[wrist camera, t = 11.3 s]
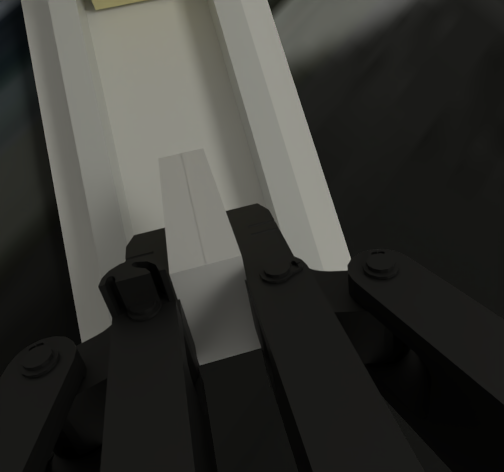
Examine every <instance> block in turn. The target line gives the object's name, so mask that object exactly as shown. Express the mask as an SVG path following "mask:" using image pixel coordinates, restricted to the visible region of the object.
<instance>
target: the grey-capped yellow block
mask: <svg viewBox="0 0 504 472" xmlns="http://www.w3.org/2000/svg"><path fill="white" fill-rule="evenodd" d="M140 1H145V0H92V3H93V5H94V8H95V10H99V9H104V8H110V7H115V6H120V5H125V4H130V3H135V2H140Z"/></svg>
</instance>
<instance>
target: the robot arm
mask: <svg viewBox="0 0 504 472" xmlns="http://www.w3.org/2000/svg"><path fill="white" fill-rule="evenodd" d="M158 161H159V171H160V182H161V192H162V203H163V213H164V223H165V228H161V229H157V230H153V231H149V232H145V233H141V234H137V235H134V236H133V237H132V239H131V240H130V242H129V243H128V245H127V246H126V254H125V259H126V261H125V262H124V263H121V264H119V265H117V266H116V267H114V268H113V269H111V270H109V271H108V272H107V273H106V274H105V275H104V276H103V277H102V279H101V281H100V283H99V286H98V288H99V290H100V292H101V294H102V297H103V299H104V301H105V303H106V305H107V308H108V310H109V312H110V314H111V316H112V325H110V326H109V327H108V328H107V329H106V330H104V331H103V332H101V333H100V334H98V335H96V336H94V337H93V338H91V339H89V340H87V341H85V342H83V343H81V344H79V345H77V346H76V345H75V343H74V342H73V341H72V340H70V339H69V338H67V337H61V336H53V337H49V338H45V339H41V340H39V341H37V342H35V343H33V344H31V345H29V346H27V347H26V348H25V349H24V350H22V351H21V352H20V353H18V354H17V355H16V356H15V357H14V359H13V360H12V361H11V362H10V363H9V365H8V366H7V368H6V369H5V371H4V372H3V374H2V376H1V377H0V472H217V465H216V459H215V453H214V446H213V440H212V434H211V427H210V421H209V415H208V408H207V402H206V396H205V389H204V383H203V380H202V377H201V374H200V371H199V368H198V362H199V365H203V364H206V363H210V362H213V361H217V360H220V359H224V358H227V357H231V356H234V355H238V354H241V353H245V352H248V351H252V350H256V349H259V348H262V352H263V357H264V361H265V366H266V371H267V376H268V380H269V385H270V387H272V388H273V391H274V395H275V398H276V401H277V404H278V407H279V410H280V414H281V417H282V420H283V423H284V426H285V429H286V433H287V436H288V439H289V442H290V445H291V448H292V452H293V455H294V458H295V461H296V464H297V468H298V471H299V472H425V471H424V470H423V468H422V466H421V464H420V463H419V461H418V459H417V457H416V456H415V454H414V452H413V450H412V449H411V447H410V445H409V443H408V442H407V440H406V438H405V436H404V434H403V433H402V431H401V429H400V427H399V426H398V424H397V422H396V420H395V419H394V417H393V415H392V413H391V412H390V410H389V408H388V406H387V405H386V403H385V401H384V399H385V400H386V401H387V402H388V403H389V404H390V405H391V406H392V407H393V408H394V409H395V410H396V411H397V413H398V414H399V415H400V416H401V417H402V418H403V419H404V420H405V421H406V422H407V423H408V424H409V425H410V427H411V428H412V429H413V430H414V431H415V432H416V433H417V434H418V435H419V436H420V437H421V438H422V439H423V440H424V442H425V443H426V444H427V445H428V446H429V447H430V448H431V449H432V450H433V451H434V452H435V453H436V454H437V456H438V457H439V458H440V459H441V460H442V461H443V462H444V463H445V464H446V465H447V466H448V467H449V468H450V469H451V471H452V472H504V319H502V318H501V317H499V316H498V315H496V314H495V313H493V312H492V311H490V310H489V309H487V308H485V307H484V306H482V305H481V304H479V303H478V302H476V301H475V300H473V299H472V298H470V297H469V296H467V295H466V294H464V293H462V292H461V291H459V290H458V289H456V288H455V287H453V286H452V285H450V284H449V283H447V282H446V281H444V280H443V279H441V278H440V277H438V276H436V275H435V274H433V273H432V272H430V271H429V270H427V269H426V268H424V267H423V266H421V265H420V264H418V263H417V262H415V261H413V260H412V259H410V258H409V257H407V256H406V255H403V254H401V253H399V252H397V251H393V250H387V249H372V250H368V251H364V252H361V253H359V254H357V255H356V256H354V257H353V258H352V259H351V260H350V262H349V264H348V265H347V267H348V270H347V271H319V270H313V269H310V268H309V267H308V265H307V264H306V263H305V262H304V261H303V260H302V259H299V258H297V257H295V256H294V255H293V253H292V251H291V249H290V248H289V246H288V244H287V242H286V240H285V238H284V237H283V235H282V233H281V231H280V229H279V228H278V226H277V224H276V222H275V221H274V218H273V216H272V215H271V213H270V211H269V209H267V208H265V207H263V206H261V205H260V204H258V203H256V204H252V205H248V206H244V207H240V208H236V209H232V210H228V211H225V208H224V205H223V202H222V200H221V197H220V194H219V191H218V188H217V186H216V183H215V180H214V177H213V175H212V172H211V169H210V166H209V163H208V161H207V158H206V155H205V152H204V149H203V148H201V149H197V150H192V151H188V152H184V153H180V154H175V155H171V156H167V157H162V158H158ZM197 359H198V361H197ZM381 395H382V396H383V397H384V399H383V397H382V396H381Z"/></svg>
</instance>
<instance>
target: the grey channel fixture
mask: <svg viewBox="0 0 504 472" xmlns="http://www.w3.org/2000/svg"><path fill="white" fill-rule="evenodd" d="M21 4H22V9H23V15H24V20H25V26H26V32H27V37H28V43H29V49H30V54H31V60H32V66H33V71H34V77H35V82H36V88H37V94H38V99H39V105H40V111H41V116H42V122H43V128H44V133H45V139H46V144H47V150H48V156H49V161H50V167H51V173H52V178H53V184H54V190H55V195H56V201H57V206H58V212H59V218H60V223H61V229H62V235H63V240H64V246H65V252H66V257H67V263H68V268H69V274H70V280H71V285H72V291H73V297H74V302H75V308H76V314H77V319H78V325H79V330H80V336H81V342H82V343H83V342H85V341H87V340H89V339H91V338H93V337H94V336H96V335H98V334H100V333H101V332H103V331H104V330H106V329H107V328H108V327H109V326H110V325H112V316H111V314H110V312H109V310H108V308H107V305H106V303H105V301H104V299H103V297H102V294H101V292H100V290H99V288H98V286H99V283H100V281H101V279H102V277H103V276H104V275H105V274H106V273H107V272H108V271H109V270H111V269H113V268H114V267H116V266H117V265H119V264H121V263H124V262H125V261H126V259H125V254H126V246H127V245H128V243H129V242H130V240H131V239H132V237H133V236H134V235H137V234H141V233H145V232H149V231H153V230H157V229H161V228H165V223H164V213H163V203H162V192H161V182H160V171H159V161H158V158H162V157H167V156H171V155H175V154H180V153H184V152H188V151H192V150H197V149H201V148H203V149H204V152H205V155H206V158H207V161H208V163H209V166H210V169H211V172H212V175H213V177H214V180H215V183H216V186H217V188H218V191H219V194H220V197H221V200H222V202H223V205H224V208H225V211H228V210H232V209H236V208H240V207H244V206H248V205H252V204H256V203H258V204H260V205H261V206H263V207H265V208H267V209H269V211H270V213H271V215H272V216H273V218H274V221H275V222H276V224H277V226H278V228H279V229H280V231H281V233H282V235H283V237H284V238H285V240H286V242H287V244H288V246H289V248H290V249H291V251H292V253H293V255H294V256H295V257H297V258H299V259H302V260H303V261H304V262H305V263H306V264H307V265H308V267H309V268H310V269H313V270H319V271H347V270H348V267H347V265H348V264H349V262H350V260H351V257H350V254H349V251H348V248H347V245H346V242H345V239H344V236H343V233H342V230H341V227H340V223H339V220H338V217H337V214H336V211H335V208H334V205H333V202H332V199H331V196H330V193H329V189H328V186H327V183H326V180H325V177H324V174H323V171H322V168H321V165H320V162H319V159H318V155H317V152H316V149H315V146H314V143H313V140H312V137H311V134H310V131H309V128H308V125H307V121H306V118H305V115H304V112H303V109H302V106H301V103H300V100H299V97H298V94H297V91H296V87H295V84H294V81H293V78H292V75H291V72H290V69H289V66H288V63H287V60H286V57H285V53H284V50H283V47H282V44H281V41H280V38H279V35H278V32H277V29H276V26H275V23H274V19H273V16H272V13H271V10H270V7H269V4H268V1H267V0H145V1H140V2H135V3H130V4H125V5H120V6H115V7H110V8H104V9H99V10H95V8H94V5H93V3H92V0H21Z"/></svg>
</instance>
